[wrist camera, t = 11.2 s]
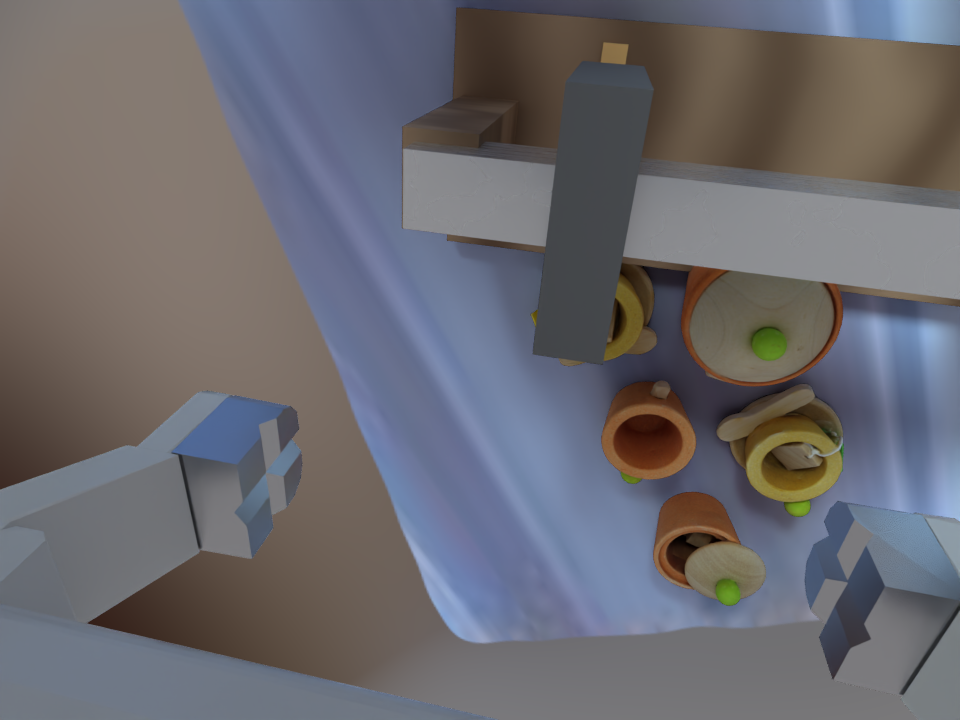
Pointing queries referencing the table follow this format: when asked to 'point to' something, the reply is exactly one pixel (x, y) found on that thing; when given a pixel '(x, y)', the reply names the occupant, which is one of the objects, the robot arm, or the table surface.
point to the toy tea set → (751, 433)
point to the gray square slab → (591, 207)
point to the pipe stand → (711, 149)
